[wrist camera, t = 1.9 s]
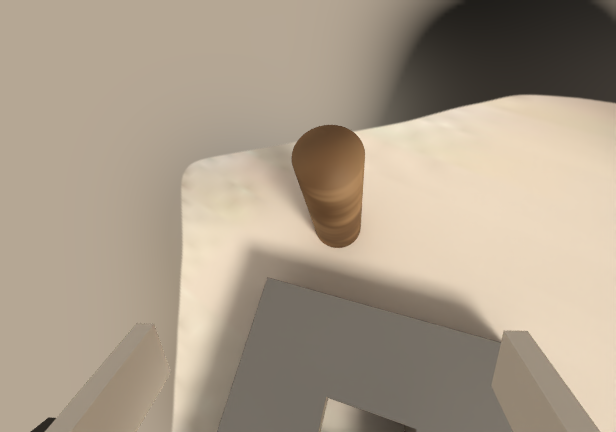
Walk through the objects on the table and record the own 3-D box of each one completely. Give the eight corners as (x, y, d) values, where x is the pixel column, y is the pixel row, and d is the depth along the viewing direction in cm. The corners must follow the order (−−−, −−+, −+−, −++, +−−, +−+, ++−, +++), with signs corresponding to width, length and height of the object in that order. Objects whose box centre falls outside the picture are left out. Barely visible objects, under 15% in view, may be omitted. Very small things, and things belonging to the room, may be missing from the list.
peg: (364, 210, 31) (372, 130, 19) (354, 252, 30) (355, 195, 18) (322, 201, 32) (303, 120, 20) (310, 241, 31) (282, 180, 19)
